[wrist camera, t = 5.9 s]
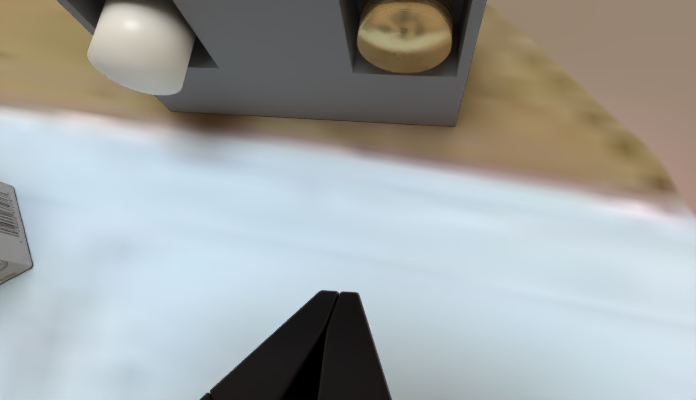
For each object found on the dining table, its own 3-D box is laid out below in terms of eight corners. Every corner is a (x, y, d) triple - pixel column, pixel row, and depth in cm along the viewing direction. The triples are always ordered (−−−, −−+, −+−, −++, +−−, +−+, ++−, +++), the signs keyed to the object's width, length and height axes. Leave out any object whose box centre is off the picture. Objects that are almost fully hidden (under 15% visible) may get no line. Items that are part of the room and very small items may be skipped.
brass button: (446, 74, 20) (457, 13, 16) (361, 71, 20) (352, 11, 17) (450, 21, 21) (460, -50, 17) (368, 19, 21) (360, -49, 18)
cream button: (197, 97, 21) (152, 44, 17) (124, 93, 22) (65, 42, 18) (210, 45, 22) (170, -15, 18) (139, 43, 23) (86, -16, 19)
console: (454, 126, 25) (496, -41, 14) (171, 111, 28) (16, -39, 17) (459, 40, 27) (500, -170, 16) (192, 33, 29) (65, -149, 18)
